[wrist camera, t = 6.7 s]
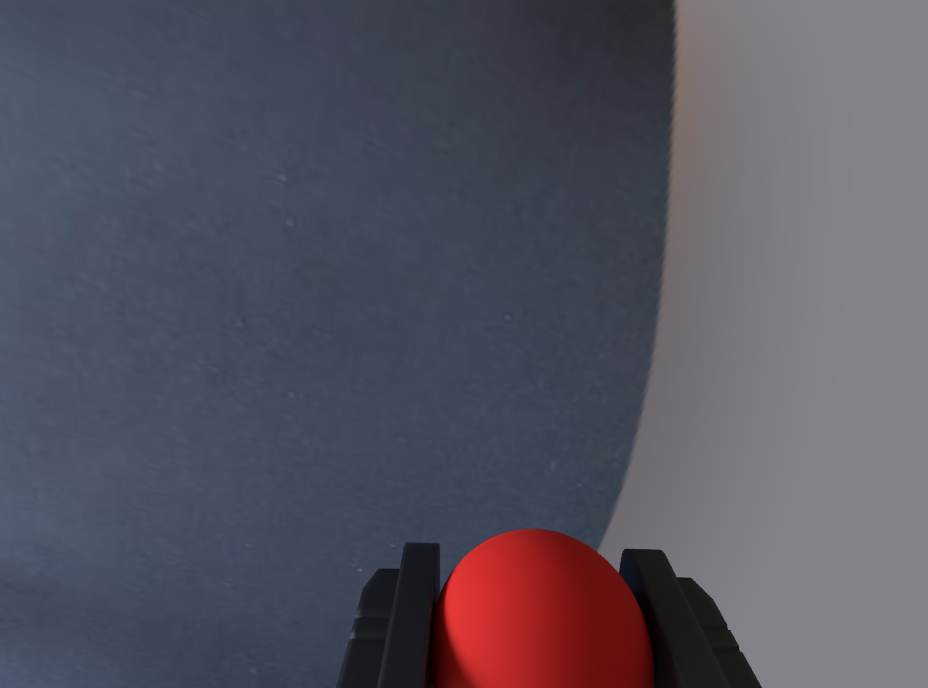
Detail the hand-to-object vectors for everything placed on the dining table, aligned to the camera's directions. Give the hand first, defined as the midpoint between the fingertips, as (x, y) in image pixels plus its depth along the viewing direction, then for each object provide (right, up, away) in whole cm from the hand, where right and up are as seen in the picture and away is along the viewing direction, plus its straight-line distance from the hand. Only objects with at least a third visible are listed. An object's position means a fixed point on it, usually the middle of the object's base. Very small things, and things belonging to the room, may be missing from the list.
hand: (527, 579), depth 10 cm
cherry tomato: (0, -1, -1) cm, 1 cm away
